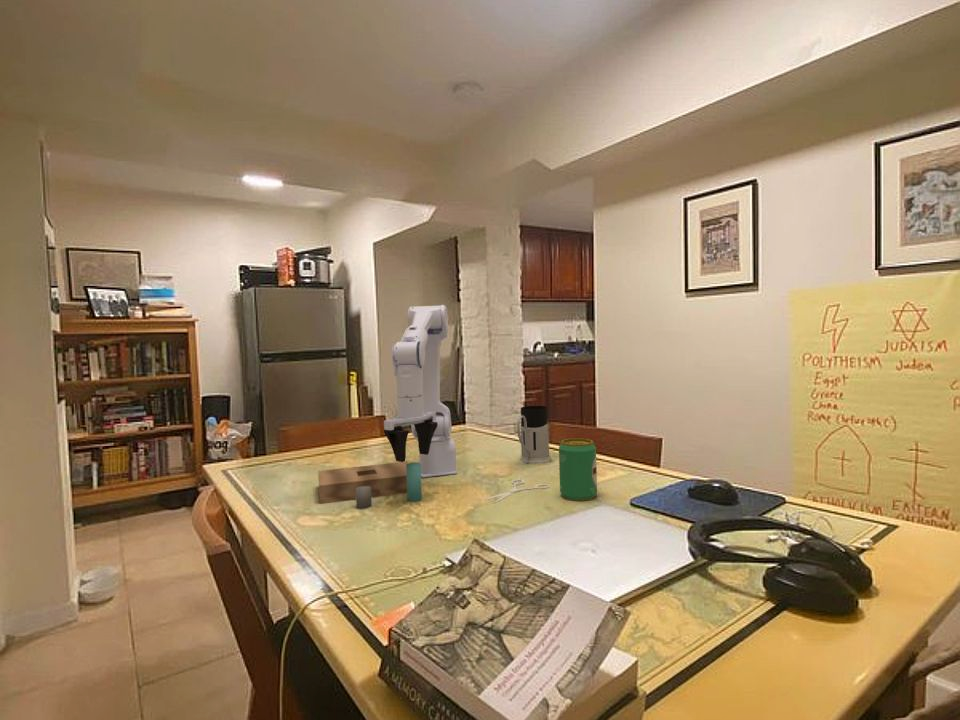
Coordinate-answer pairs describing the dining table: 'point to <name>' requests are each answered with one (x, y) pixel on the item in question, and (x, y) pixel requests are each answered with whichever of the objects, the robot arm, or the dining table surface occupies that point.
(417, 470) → the teal pin
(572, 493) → the beverage can
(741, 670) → the dining table surface
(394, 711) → the dining table surface
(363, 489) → the charcoal stub
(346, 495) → the walnut hole block
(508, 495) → the scissors
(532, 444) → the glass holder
